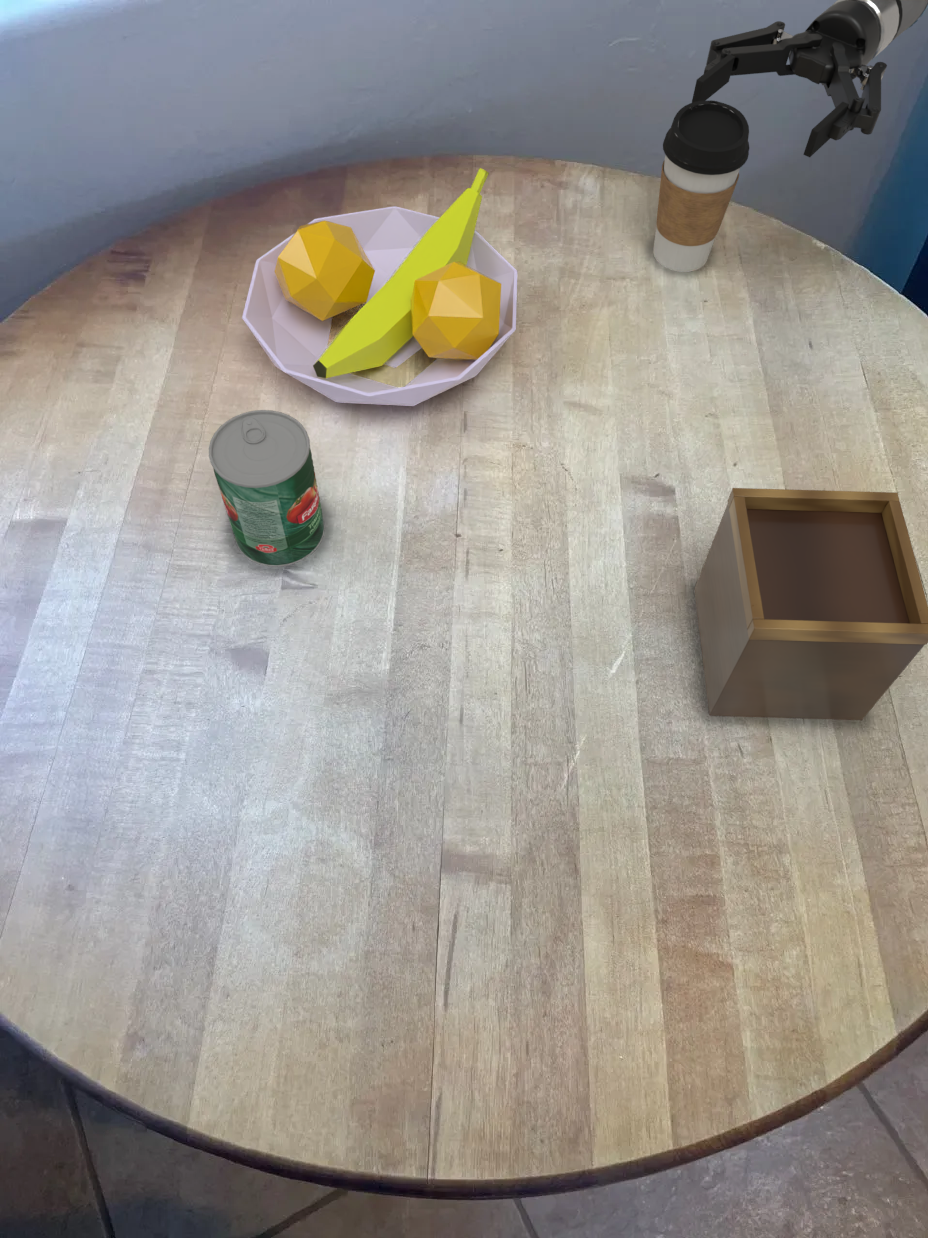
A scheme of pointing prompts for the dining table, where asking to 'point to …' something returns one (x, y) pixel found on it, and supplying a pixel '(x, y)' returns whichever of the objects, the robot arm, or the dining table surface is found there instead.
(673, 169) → the coffee cup
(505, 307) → the fruit bowl
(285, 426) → the canned tomato
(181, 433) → the dining table surface
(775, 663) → the box
